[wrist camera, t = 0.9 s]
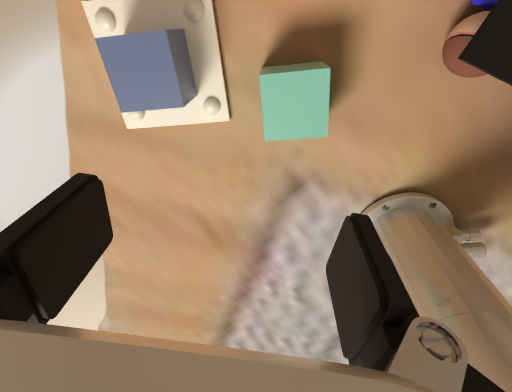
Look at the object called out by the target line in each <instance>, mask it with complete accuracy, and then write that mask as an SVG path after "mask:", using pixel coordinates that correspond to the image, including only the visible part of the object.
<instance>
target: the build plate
mask: <svg viewBox="0 0 512 392" xmlns="http://www.w3.org/2000/svg"><path fill="white" fill-rule="evenodd" d="M82 4H83V7H84V10H85V13H86V16H87V18H88V21H89V24H90V27H91V29H92V32H93V35H94V38H95V41H96V43H97V46H98V49H99V52H100V54H101V57H102V60H103V63H104V66H105V68H106V71H107V74H108V77H109V79H110V82H111V85H112V88H113V90H114V93H115V96H116V99H117V102H118V104H119V107H120V110H121V113H122V115H123V118H124V121H125V124H126V126H127V129H134V128H146V127H159V126H171V125H184V124H196V123H209V122H221V121H230V115H229V108H228V101H227V95H226V88H225V81H224V75H223V68H222V61H221V54H220V48H219V41H218V34H217V28H216V21H215V14H214V8H213V1H212V0H90V1H82Z"/></svg>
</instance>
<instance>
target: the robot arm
mask: <svg viewBox="0 0 512 392" xmlns="http://www.w3.org/2000/svg"><path fill="white" fill-rule="evenodd" d="M112 238H113V231H112V226H111V221H110V216H109V211H108V206H107V202H106V197H105V192H104V187H103V183H102V181H101V180H99V179H98V177H97V176H96V175H91V174H84V173H77V174H76V175H74V176H73V177H72V178H70V179H69V180H68V181H67V182H65V183H64V184H63V185H61V186H60V187H59V188H57V189H56V190H55V191H53V192H52V193H51V194H50V195H48V196H47V197H46V198H44V199H43V200H42V201H40V202H39V203H38V204H37V205H35V206H34V207H33V208H31V209H30V210H29V211H27V212H26V213H25V214H24V215H22V216H21V217H20V218H18V219H17V220H16V221H14V222H13V223H12V224H11V225H9V226H8V227H7V228H5V229H4V230H3V231H1V232H0V392H512V306H511V305H510V304H509V302H508V301H507V300H506V299H505V298H504V296H503V295H502V294H501V293H500V292H499V290H498V289H497V288H496V287H495V286H494V284H493V283H492V282H491V281H490V280H489V278H488V277H487V276H486V275H485V274H484V272H483V271H482V270H481V269H480V268H479V266H478V265H477V264H476V263H475V262H474V260H473V259H472V258H480V257H485V256H486V255H487V249H486V246H485V245H484V244H483V243H482V242H472V243H463V244H461V242H462V240H467V241H478V240H481V239H482V234H481V232H480V230H478V229H477V230H463V231H460V230H459V229H457V228H456V227H455V226H454V223H453V217H452V215H451V212H450V211H449V209H448V208H447V207H446V206H445V205H444V204H443V203H442V202H441V201H440V200H438V199H437V198H435V197H433V196H430V195H427V194H424V193H416V192H409V193H400V194H395V195H391V196H388V197H386V198H383V199H381V200H379V201H377V202H375V203H374V204H372V205H371V206H369V207H368V208H367V209H366V210H365V211H364V212H363V213H362V214H357V213H352V214H351V216H347V217H346V218H345V220H344V222H343V225H342V227H341V230H340V232H339V235H338V237H337V240H336V242H335V245H334V247H333V250H332V252H331V254H330V257H329V259H328V262H327V265H326V275H327V280H328V285H329V290H330V294H331V299H332V304H333V309H334V314H335V319H336V323H337V328H338V333H339V338H340V343H341V348H342V352H343V355H344V357H345V358H348V360H349V365H347V364H340V363H334V362H327V361H321V360H314V359H308V358H301V357H294V356H286V355H279V354H271V353H264V352H257V351H249V350H242V349H235V348H227V347H220V346H212V345H205V344H197V343H189V342H182V341H174V340H167V339H159V338H151V337H143V336H136V335H128V334H120V333H112V332H104V331H96V330H88V329H80V328H71V327H64V326H56V325H48V324H47V322H48V321H49V320H50V319H53V318H55V317H56V316H57V315H58V313H59V312H60V311H61V309H62V308H63V306H64V305H65V304H66V303H67V301H68V300H69V298H70V297H71V296H72V294H73V293H74V292H75V290H76V289H77V288H78V286H79V285H80V283H81V282H82V281H83V280H84V278H85V277H86V276H87V274H88V273H89V271H90V270H91V269H92V267H93V266H94V265H95V263H96V262H97V261H98V259H99V258H100V257H101V255H102V254H103V253H104V251H105V250H106V248H107V247H108V246H109V244H110V243H111V241H112Z"/></svg>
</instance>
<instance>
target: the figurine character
mask: <svg viewBox="0 0 512 392" xmlns="http://www.w3.org/2000/svg"><path fill="white" fill-rule="evenodd" d="M472 3H473V4H475V5H482V7H483V8H484V9H485V10H486V11H483V12H479V13H476V14H473V15H471V16H469V17H467V18H466V19H464V20H463V21H461V22H460V23H459V24H458V25H457V26H455V28H454V29H453V30H452V31H451V32H450V34H449V35H448V37H447V39H446V41H445V43H444V46H443V61H444V63H445V65H446V67H447V68H448V69H449V70H450V71H451V72H452V73H454V74H456V75H458V76H461V77H479V76H483V75H486V74H489V75H491V76H493V77H495V78H497V79H499V80H502V81H504V82H506V83H508V84H510V85H512V0H472Z"/></svg>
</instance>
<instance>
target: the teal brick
mask: <svg viewBox="0 0 512 392" xmlns="http://www.w3.org/2000/svg"><path fill="white" fill-rule="evenodd" d="M330 70H331V68H330V67H329V66H328V65H327V64H325V63H324V62H323V61H317V62H307V63H298V64H288V65H279V66H269V67H262V68H261V71H260V74H259V79H260V91H261V102H262V113H263V124H264V135H265V141H276V140H290V139H303V138H317V137H328V119H329V94H330Z"/></svg>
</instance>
